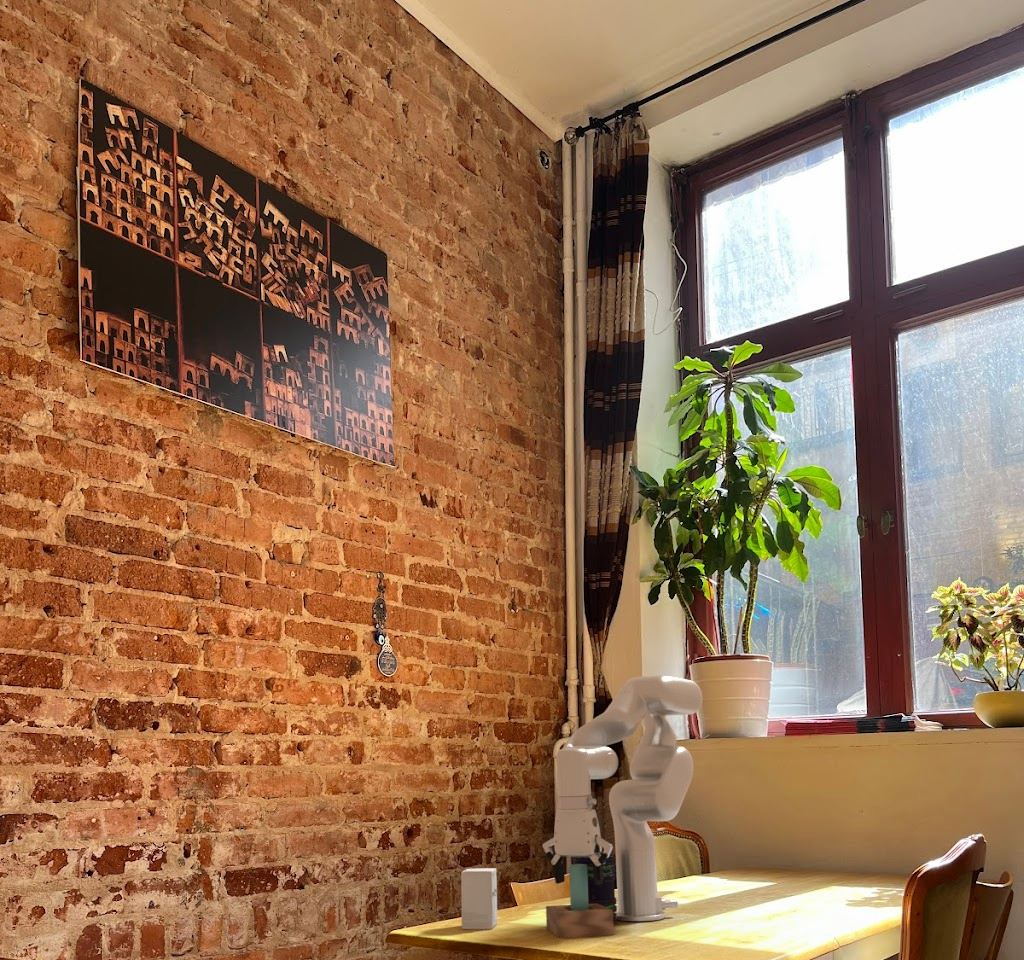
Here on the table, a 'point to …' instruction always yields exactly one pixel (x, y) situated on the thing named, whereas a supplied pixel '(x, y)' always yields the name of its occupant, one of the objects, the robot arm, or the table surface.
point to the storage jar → (604, 891)
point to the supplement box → (479, 898)
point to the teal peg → (578, 887)
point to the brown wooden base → (579, 921)
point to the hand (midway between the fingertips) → (579, 883)
